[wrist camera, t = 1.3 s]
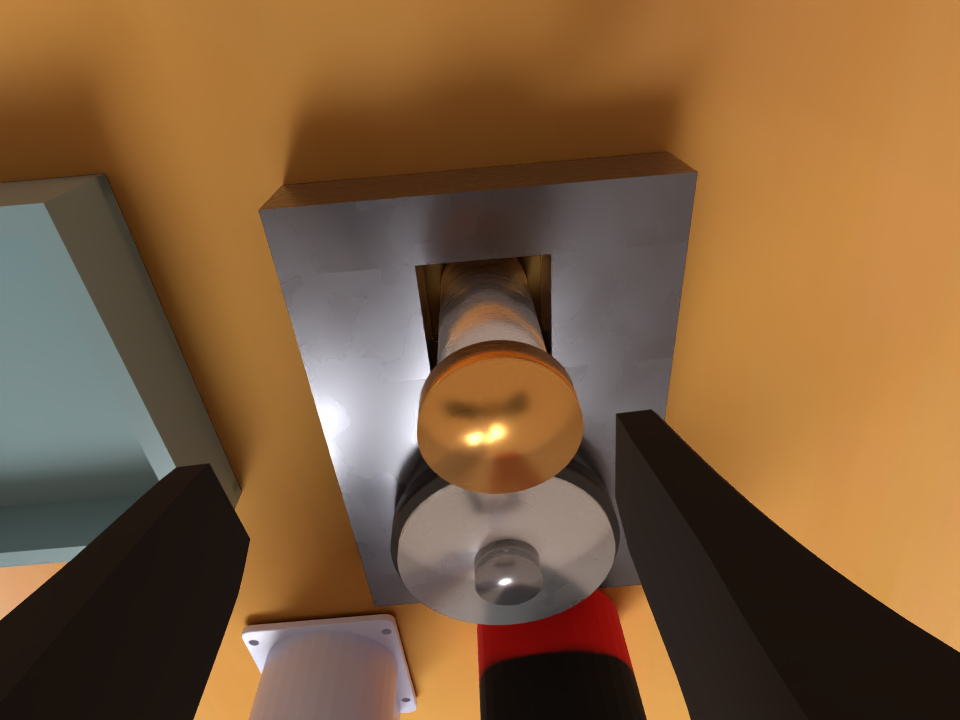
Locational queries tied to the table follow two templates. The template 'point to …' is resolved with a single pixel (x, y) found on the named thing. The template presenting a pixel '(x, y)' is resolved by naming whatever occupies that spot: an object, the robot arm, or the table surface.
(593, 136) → the table surface
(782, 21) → the table surface
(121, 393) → the tray
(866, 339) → the table surface
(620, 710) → the soda can
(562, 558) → the bracket
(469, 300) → the lock pin
